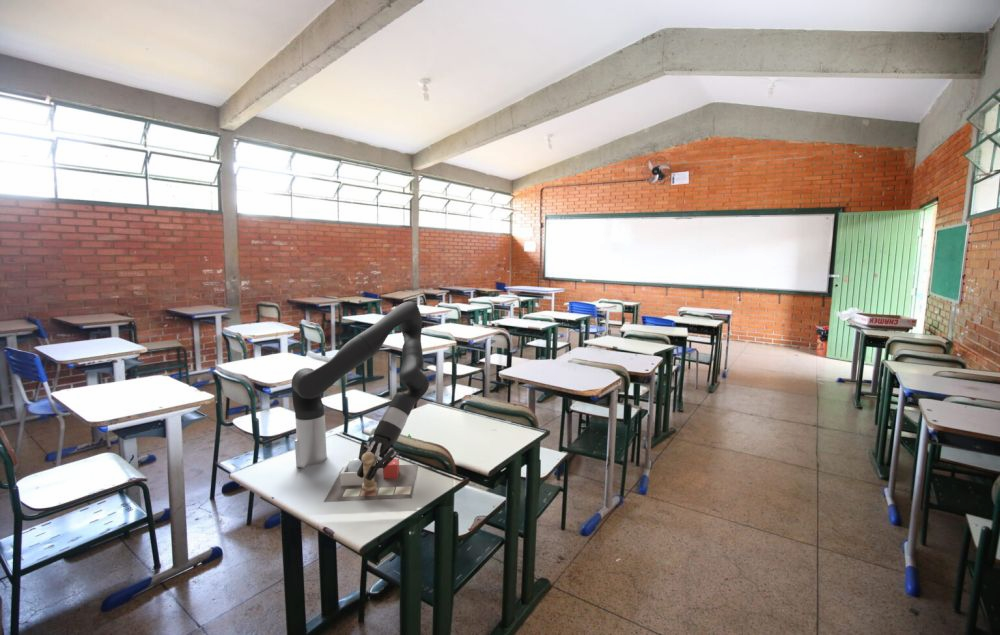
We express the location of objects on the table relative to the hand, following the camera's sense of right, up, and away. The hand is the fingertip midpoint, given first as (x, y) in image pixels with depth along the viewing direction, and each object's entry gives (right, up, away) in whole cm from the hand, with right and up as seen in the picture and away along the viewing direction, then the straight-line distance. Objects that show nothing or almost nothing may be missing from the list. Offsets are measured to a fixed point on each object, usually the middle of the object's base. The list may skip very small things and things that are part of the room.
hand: (363, 477), depth 137 cm
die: (+5, -4, +13) cm, 15 cm away
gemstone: (+6, -2, +37) cm, 38 cm away
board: (+1, -6, +9) cm, 11 cm away
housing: (-5, -4, +11) cm, 13 cm away
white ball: (-5, -4, +11) cm, 12 cm away
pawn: (+1, -4, +2) cm, 5 cm away
